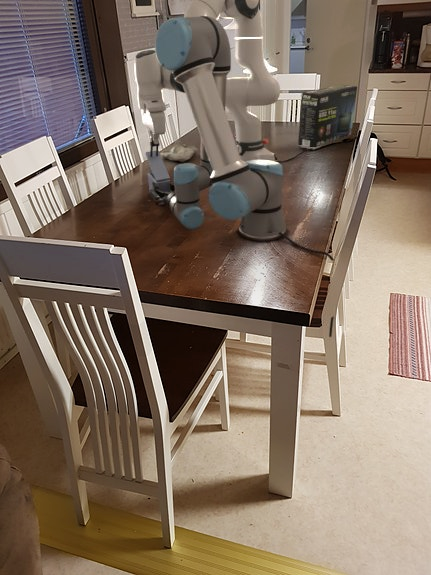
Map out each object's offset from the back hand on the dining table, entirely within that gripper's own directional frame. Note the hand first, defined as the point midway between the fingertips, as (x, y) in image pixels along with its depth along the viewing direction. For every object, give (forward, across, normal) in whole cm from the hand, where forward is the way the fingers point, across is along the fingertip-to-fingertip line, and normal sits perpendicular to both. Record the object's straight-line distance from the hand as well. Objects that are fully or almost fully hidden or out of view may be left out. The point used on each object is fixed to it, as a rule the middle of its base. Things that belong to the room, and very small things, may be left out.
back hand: (154, 142), depth 169 cm
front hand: (+15, +2, 0) cm, 15 cm away
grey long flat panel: (+9, 0, 0) cm, 9 cm away
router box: (+22, -43, +102) cm, 113 cm away
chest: (+22, -1, 0) cm, 22 cm away
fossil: (+22, -53, +24) cm, 62 cm away
